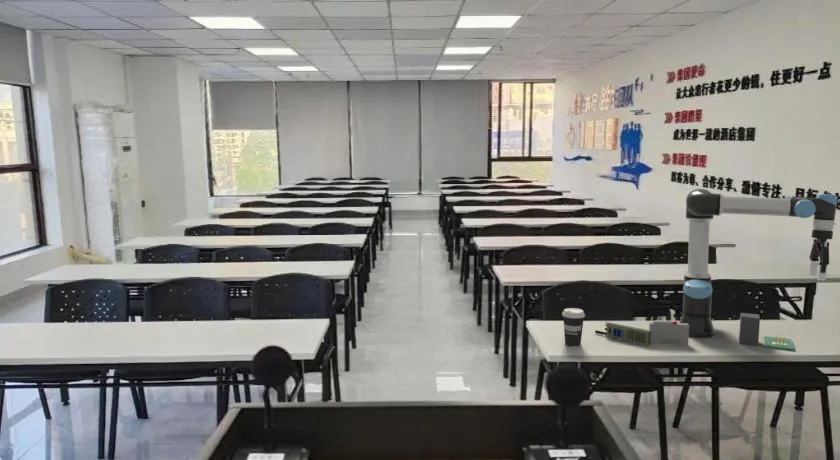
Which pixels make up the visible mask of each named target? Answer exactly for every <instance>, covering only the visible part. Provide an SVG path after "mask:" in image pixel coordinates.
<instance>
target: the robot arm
mask: <svg viewBox="0 0 840 460" xmlns="http://www.w3.org/2000/svg"><path fill="white" fill-rule="evenodd" d="M837 201H838V197H837V194H830V193H828V194H827V193H817V194H816V197H805V196H793V195H792V196H785V197H784V198H782V197H781V198H780V197H756V196H755V197H753V196H728V195H727V196H726V195H723V194H722V193H713V192H711V191H710V190H708V189H705V188H696V189H693V190H691V191H690V192H689V193H688V194H687V196H686V198H685V207H686V209H685V218H686V220H687V221H689V222H688V223H689V224H688V248H687V249H688V253H687V258H688V259H687V271H686V272H685V273H684V274H683V288H682V291H683V298H682V315H681V317H680V320H679V322H678V323H687V324H689V337H692V338H693V337H694V338H711V337H713V336H714V334H715V329H714V324H713V322H712V318H711V315H712V299H713V296H712V295H713V291H714V290H713V285H712V275H711V274H710V273H709V270H708V269H709V249H710V248H709V245H710V222H711V221H712V220H714V216H721V215H723V214H726V215H729V214H730V215H750V216H751V215H752V216H771V217H772V216H774V217H779V216H780V217H794V218H795V217H797V218H801V219H805V218H806V219H807V218H810V217H812V216H813V221H812V228H813V229H812V230H811V238H812V241H813V243H812V246H811V251H810V254H809V260H810V262H809V263H810V264H809V271H808V275H809V276H811V277H813V276H814V277H816V276H817V281H826V278H827V277H826V276H827V269H828V265H830V242H829V241H828V240H833V235H834V231H833V230H834V226H835V225H836V222H835V220H836V219H835V218H836V212H837V206H838V205H837V204H838V203H837Z"/></svg>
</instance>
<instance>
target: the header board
mask: <svg viewBox="0 0 840 460" xmlns="http://www.w3.org/2000/svg"><path fill="white" fill-rule="evenodd" d="M763 339H764V343H765V348H767V349H774V350H783V351H791V352H795V346H794V344H793V341H792V339H791V338H785V337H784V336H782V337H781V336H766V335H764V337H763Z"/></svg>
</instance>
